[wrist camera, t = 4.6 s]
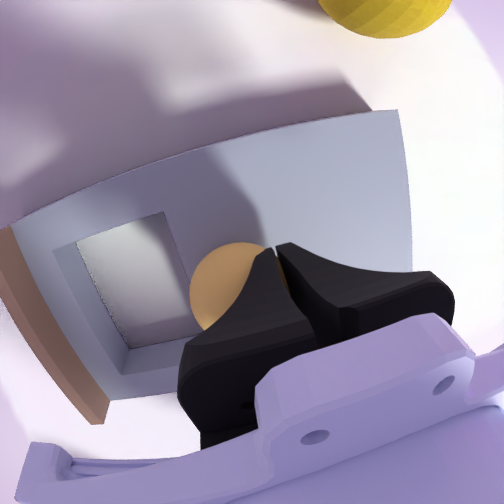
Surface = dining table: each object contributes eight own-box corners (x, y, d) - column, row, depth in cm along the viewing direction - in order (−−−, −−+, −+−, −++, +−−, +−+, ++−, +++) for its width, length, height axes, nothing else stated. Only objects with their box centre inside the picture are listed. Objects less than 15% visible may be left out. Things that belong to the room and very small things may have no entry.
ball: (244, 384, 10) (177, 332, 13) (309, 328, 13) (242, 293, 15) (239, 296, 8) (160, 251, 11) (318, 245, 11) (239, 218, 13)
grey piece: (392, 304, 18) (426, 343, 14) (106, 377, 18) (91, 424, 14) (373, 110, 14) (423, 108, 10) (21, 217, 14) (-24, 245, 9)
